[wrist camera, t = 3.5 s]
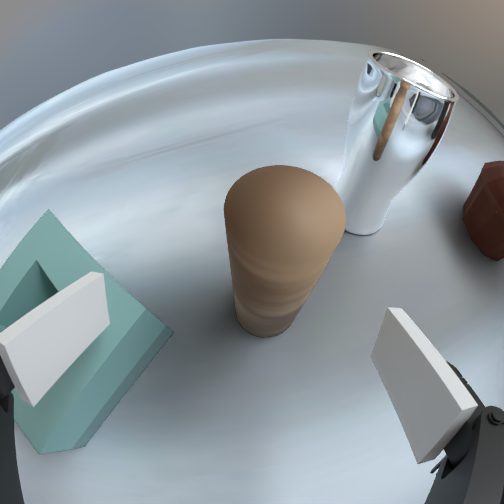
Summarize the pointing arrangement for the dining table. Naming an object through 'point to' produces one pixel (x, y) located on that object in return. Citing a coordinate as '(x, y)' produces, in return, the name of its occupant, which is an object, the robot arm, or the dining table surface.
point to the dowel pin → (279, 243)
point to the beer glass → (389, 135)
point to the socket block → (93, 357)
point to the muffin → (487, 211)
